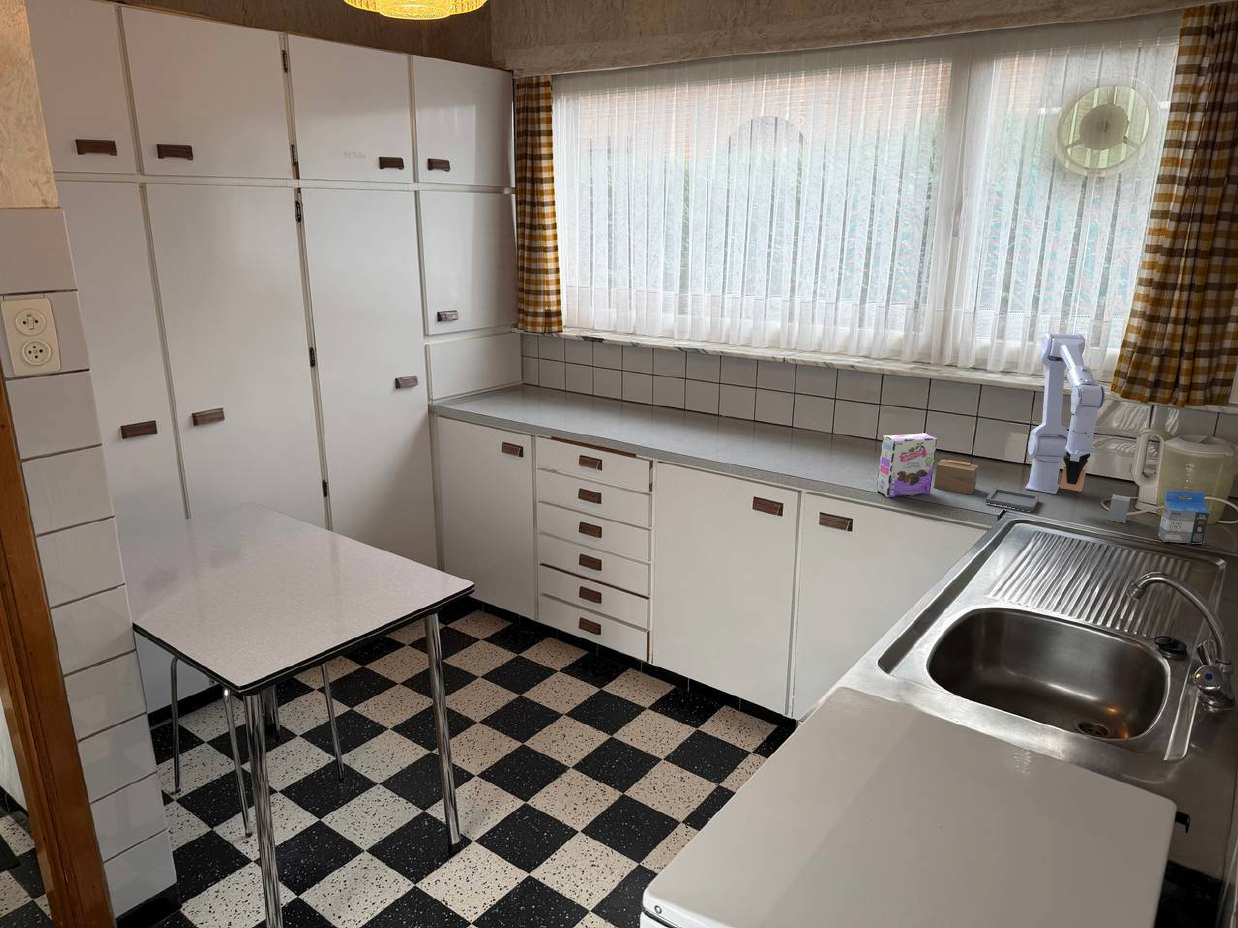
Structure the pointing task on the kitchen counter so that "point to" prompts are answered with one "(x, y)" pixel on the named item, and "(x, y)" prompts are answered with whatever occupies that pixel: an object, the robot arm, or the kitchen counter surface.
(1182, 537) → the label tape box
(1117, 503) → the slate grey block
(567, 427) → the kitchen counter surface
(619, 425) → the kitchen counter surface
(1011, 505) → the charcoal tray
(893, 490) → the candy box
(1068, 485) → the terracotta block
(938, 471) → the box
